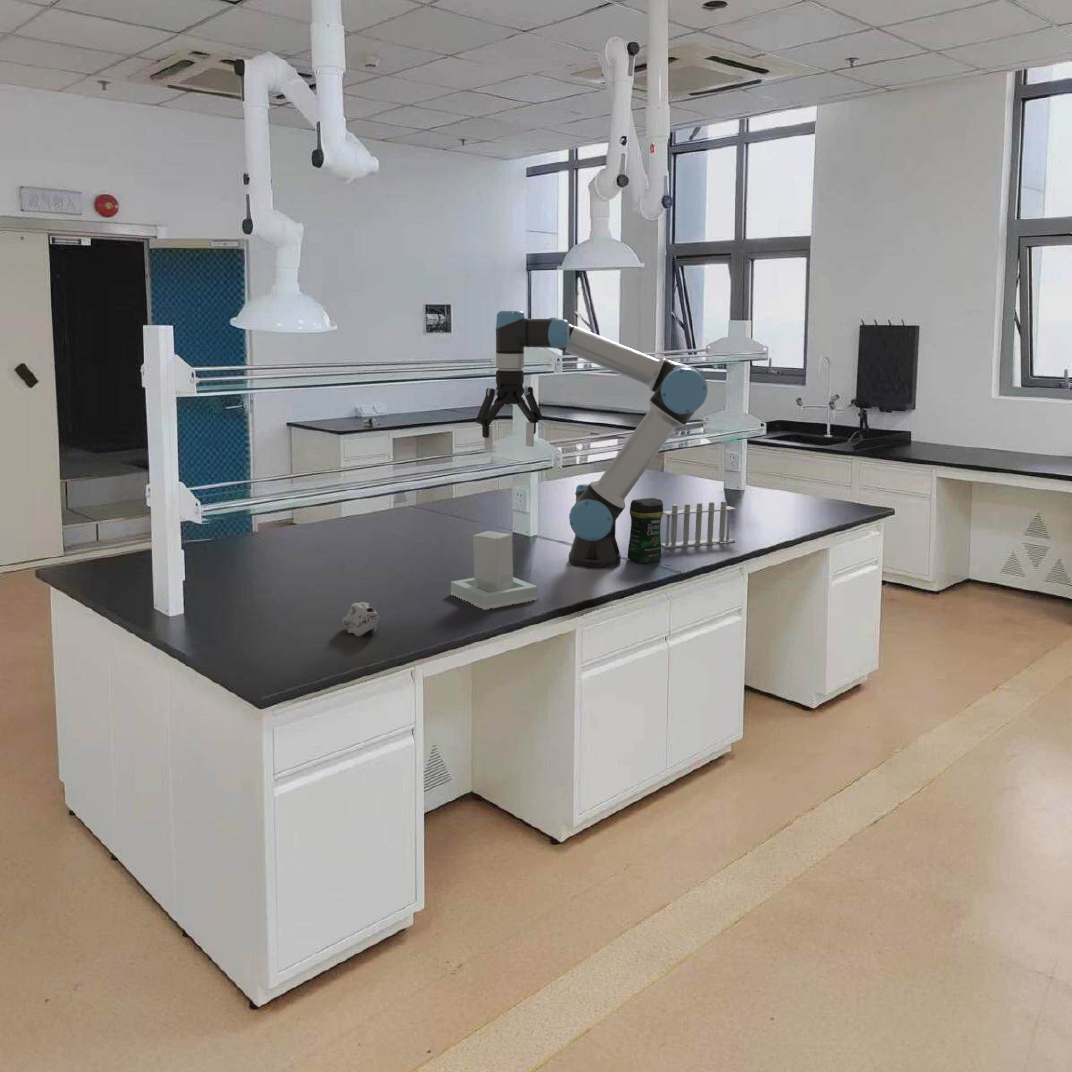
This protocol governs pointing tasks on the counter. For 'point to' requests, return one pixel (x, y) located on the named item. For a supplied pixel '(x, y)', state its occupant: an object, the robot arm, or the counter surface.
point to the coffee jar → (645, 530)
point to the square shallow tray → (494, 593)
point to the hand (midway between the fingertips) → (509, 448)
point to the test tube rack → (697, 525)
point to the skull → (361, 619)
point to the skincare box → (493, 561)
